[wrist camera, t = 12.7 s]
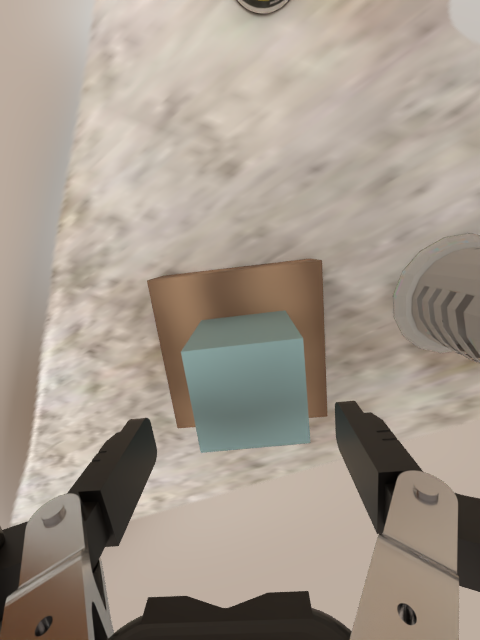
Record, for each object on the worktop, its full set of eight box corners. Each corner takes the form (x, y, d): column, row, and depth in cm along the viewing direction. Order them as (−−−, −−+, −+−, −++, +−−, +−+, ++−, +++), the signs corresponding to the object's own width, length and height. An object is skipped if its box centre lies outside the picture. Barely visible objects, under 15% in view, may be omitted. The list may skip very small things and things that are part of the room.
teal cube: (285, 310, 18) (303, 338, 12) (291, 386, 20) (310, 442, 14) (201, 320, 19) (180, 352, 13) (214, 394, 20) (201, 452, 14)
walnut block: (308, 258, 21) (321, 260, 17) (314, 389, 24) (327, 416, 20) (164, 275, 22) (147, 280, 18) (188, 400, 25) (177, 428, 21)
